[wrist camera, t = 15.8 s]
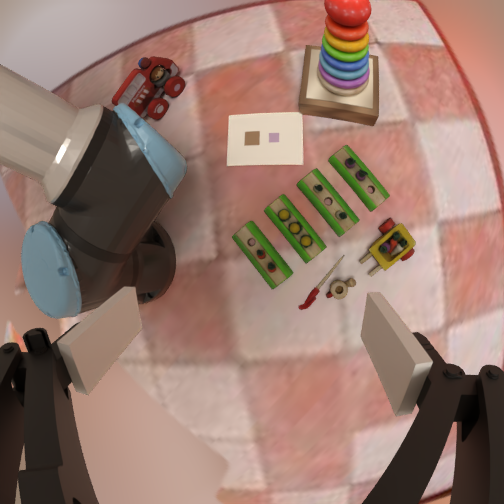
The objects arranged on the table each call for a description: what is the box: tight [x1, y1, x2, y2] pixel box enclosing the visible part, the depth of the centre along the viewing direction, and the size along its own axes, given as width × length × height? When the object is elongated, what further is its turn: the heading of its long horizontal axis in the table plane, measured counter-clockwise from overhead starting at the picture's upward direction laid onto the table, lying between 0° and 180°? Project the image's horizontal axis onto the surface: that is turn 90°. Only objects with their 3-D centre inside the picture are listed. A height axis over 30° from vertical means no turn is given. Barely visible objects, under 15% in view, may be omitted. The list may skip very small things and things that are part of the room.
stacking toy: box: [317, 0, 371, 96], centre depth 26 cm, size 8×8×19 cm
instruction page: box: [227, 112, 303, 166], centre depth 43 cm, size 12×9×1 cm
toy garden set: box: [232, 145, 416, 310], centre depth 40 cm, size 23×19×5 cm
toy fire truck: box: [112, 56, 185, 119], centre depth 41 cm, size 7×12×10 cm, turn 144°
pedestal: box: [299, 45, 379, 126], centre depth 38 cm, size 12×12×4 cm
